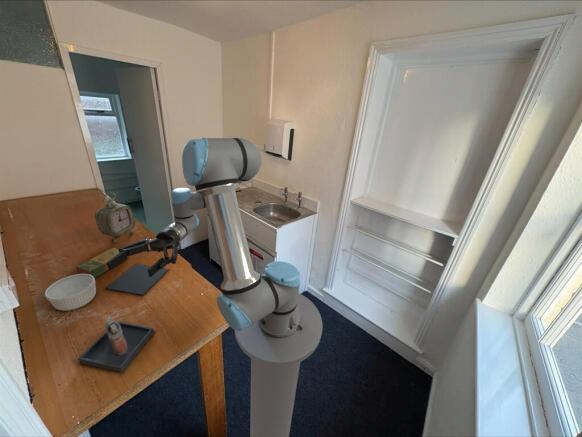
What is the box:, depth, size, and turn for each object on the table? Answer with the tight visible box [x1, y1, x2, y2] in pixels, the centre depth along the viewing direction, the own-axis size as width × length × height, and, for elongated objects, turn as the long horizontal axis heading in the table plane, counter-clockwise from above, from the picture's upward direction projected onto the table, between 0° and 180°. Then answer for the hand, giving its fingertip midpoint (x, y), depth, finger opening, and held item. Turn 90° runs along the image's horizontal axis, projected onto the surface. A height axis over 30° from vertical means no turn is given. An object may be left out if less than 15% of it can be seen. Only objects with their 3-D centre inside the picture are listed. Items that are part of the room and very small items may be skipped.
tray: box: [77, 320, 155, 373], centre depth 71 cm, size 13×13×2 cm
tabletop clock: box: [94, 192, 136, 244], centre depth 120 cm, size 14×9×25 cm, turn 168°
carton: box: [75, 247, 119, 279], centre depth 102 cm, size 8×16×4 cm, turn 162°
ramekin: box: [44, 273, 97, 312], centre depth 84 cm, size 13×13×7 cm
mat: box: [105, 263, 169, 296], centre depth 98 cm, size 16×16×1 cm
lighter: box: [104, 316, 128, 356], centre depth 69 cm, size 8×3×10 cm, turn 47°
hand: (128, 270), depth 70 cm, fingers open, 13 cm apart
